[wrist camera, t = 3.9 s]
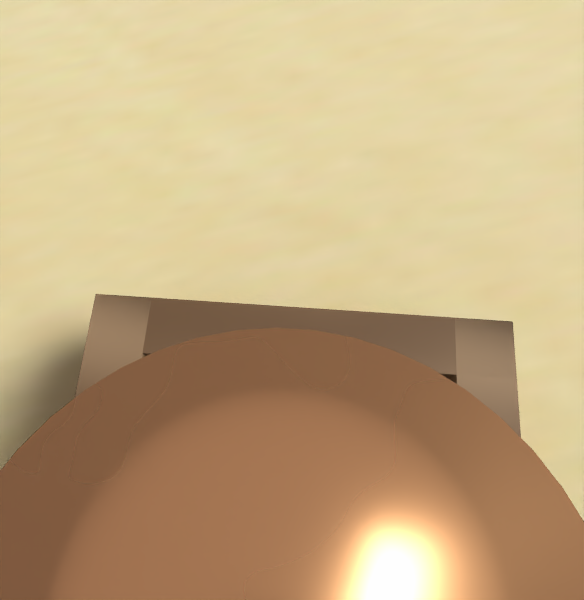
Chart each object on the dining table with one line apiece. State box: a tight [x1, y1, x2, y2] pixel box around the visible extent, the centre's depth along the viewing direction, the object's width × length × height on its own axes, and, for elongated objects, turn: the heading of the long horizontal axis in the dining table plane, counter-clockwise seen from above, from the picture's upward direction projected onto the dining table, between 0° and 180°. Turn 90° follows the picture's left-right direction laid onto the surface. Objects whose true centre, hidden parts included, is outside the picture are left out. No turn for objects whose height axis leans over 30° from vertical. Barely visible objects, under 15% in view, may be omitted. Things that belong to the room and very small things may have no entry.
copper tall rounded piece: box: [0, 328, 584, 600], centre depth 9 cm, size 5×5×12 cm
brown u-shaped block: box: [75, 294, 521, 438], centre depth 14 cm, size 8×11×4 cm
